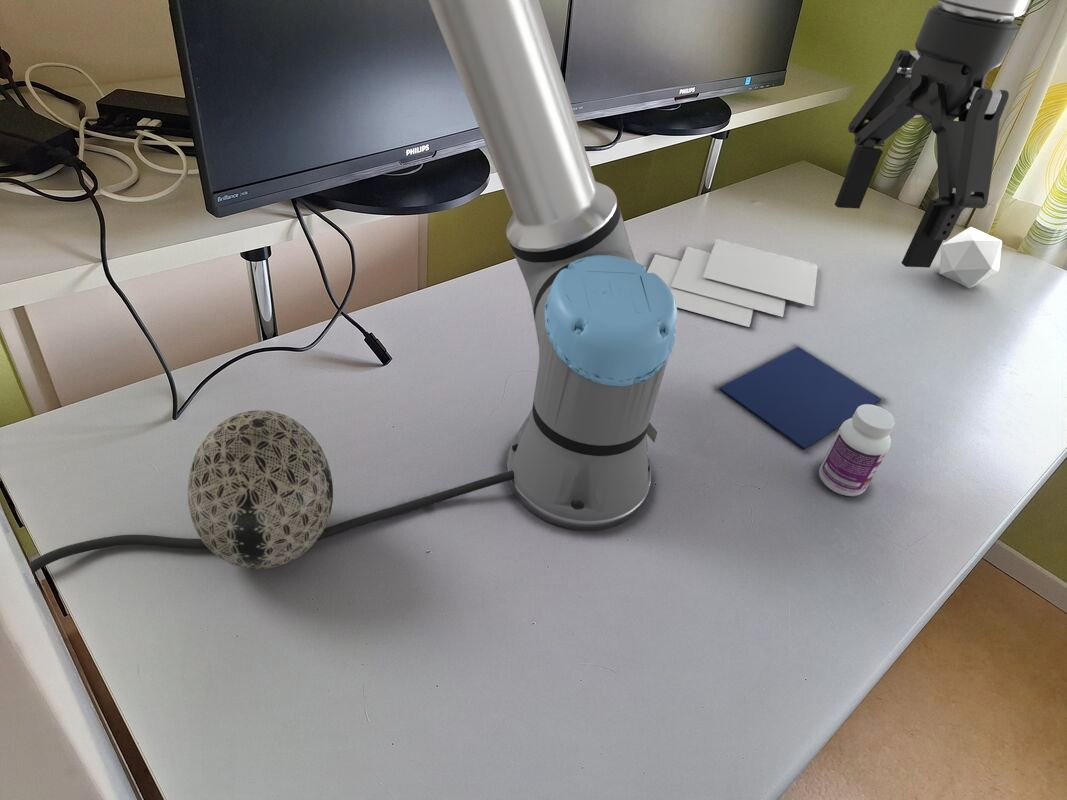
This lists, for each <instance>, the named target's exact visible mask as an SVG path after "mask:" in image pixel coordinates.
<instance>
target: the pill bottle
mask: <svg viewBox="0 0 1067 800" xmlns="http://www.w3.org/2000/svg"><path fill="white" fill-rule="evenodd" d="M895 425H896V420H895V417H894V416H893V415H892V414H891V413H890V412H889V411H888V410H886V409H884V408H883V407H881V406H879V405H875V404H874V405H871V404H864V405H861V406H859V407H858V408H857V409H856V411H855V413H854V415H853V417H852V418H850V419H848V420H846V421H844V422H843V423H842V425H841V426H840V427H838V430H837V432H836V433H835V436H834V438H833V441H831V444H830V446H829V448H828V451H827V452H826V454H825V456H824V457H823V460H822V463H821V465H820V467H819V470H818V475H819V478H820V480H821V482H822V483H823V484H824V485H825V486H826V487H827V488H828V489H829V490H831V491H832V492H834V493H837V494H839V495H841V496H846V497H856V496H860V495H861V494H864V493H865V491H866V490H867V489H868V486H869V485H870V483H871V482H872V480H873V478H874V477H875V475H876V473H877V471H878V469H879V468H880V466H881V464H882V462H883V461H884V459H885V458H886V456H887V454H888V452H889V450H890V449H891V445H892V438H891V436H890V434H891V433H892V431H893V429H894V427H895Z"/></svg>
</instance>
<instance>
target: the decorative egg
mask: <svg viewBox="0 0 1067 800" xmlns="http://www.w3.org/2000/svg"><path fill="white" fill-rule="evenodd" d="M187 484H188V485H187V504H188V511H189V515H190V519H191V521H192V524H193V527H194V529H195V532H196V534H197V535H198V536H199V539H201V540H202V541H203V543H204V544H205V545H206V546H207V547H208V548H209V549H208V550H210V551H211V552H212V553H213V554H214V555H215V556H216V557H217V558H220V559H221V560H223V561H225V562H226V563H228V564H231V565H234V566H236V567H239V568H244V569H249V570H267V569H268V570H269V569H274V568H277V567H278V568H279V567H281V566H284V565H287V564H289V563H291V562H293V561H295V560H297V559H299V558H300V557H301V556H302V555H304V554H306V552H308V551H309V550H310V549H311V548H312V547H313V546H314V545H315V543H316V542H318V541H317V539H318V538H319V537H320V535H321V534H322V532H323V530H324V529H325V528H327V527H326V526H327V525H328V522H329V519H330V517H331V513H332V506H333V501H334V485H333V478H332V471H331V468H330V465H329V462H328V459H327V457H326V455H325V453H324V450H323V448H322V446H321V445H320V443H319V442H318V440H317V439H316V438H315V437H314V435H313V434H312V433H311V432H310V431H309V430H308V429H307V428H306V427H305V426H304V425H302V424H301V423H300V422H298V421H297V420H295V419H293V418H292V417H289V416H288V415H286V414H283V413H280V412H277V411H273V410H268V409H267V410H266V409H265V410H264V409H261V410H260V409H256V410H247V411H243V412H240V413H237V414H235V415H234V414H233V415H232V416H229V417H228V418H226V419H225V420H223V421H222V422H220V423H218V424H217V425H216V426H215V427H214V428H213V429H212V430H211V431H210V432H208V433H207V435H206V437H204V439H203V440H202V442H201V443H200V445H199V447H198V448H197V451H196V452H195V455H194V457H193V459H192V463H191V466H190V469H189V475H188V483H187Z"/></svg>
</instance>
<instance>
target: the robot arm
mask: <svg viewBox="0 0 1067 800" xmlns="http://www.w3.org/2000/svg"><path fill="white" fill-rule="evenodd" d="M427 1H428V5H429V7H430V9H431V11H432V14H433V16H434V18H435V22H436V23H437V26H438V29H439V31H440V34H441V36H442V39H443V42H444V43H445V45H446V49H447V51H448V54H449V56H450V59H451V61H452V64H453V66H454V69H455V71H456V73H457V76H458V78H459V81H460V84H461V86H462V88H463V92H464V93H465V96H466V98H467V101H468V104H469V106H470V109H471V111H472V112H473V116H474V118H475V121H476V123H477V126H478V129H479V130H480V134H481V136H482V137H483V141H484V143H485V146H486V148H487V151H488V154H489V155H490V158H491V161H492V163H493V165H494V168H495V170H496V173H497V176H498V179H499V181H500V183H501V186H502V188H503V191H504V193H505V195H506V198H507V200H508V203H509V205H510V208H511V211H512V215H511V217H510V219H508V220H509V221H508V223H507V225H506V229H505V235H506V238H507V240H508V243H509V246H510V248H511V250H512V253H513V255H514V258H515V260H516V263H517V265H518V267H519V270H520V273H521V275H522V276H523V279H524V282H525V284H526V288H527V291H528V294H529V298H530V302H531V306H532V314H533V321H534V325H535V332H536V337H537V344H538V368H537V373H536V380H535V389H534V394H533V402H532V407H531V410H530V411H529V413H528V414H527V416H526V419H525V420H524V421H523V423H522V424H521V426H520V428H519V430H518V431H517V433H516V435H514V438H513V440H512V442H511V444H510V447H509V450H508V453H507V460H506V466H505V467H506V468H505V470H506V471H505V472H502V473H499V474H494V475H491V476H488V477H485V478H481V479H478V480H475V481H472V482H468V483H465V484H462V485H459V486H456V487H453V488H449V489H446V490H443V491H440V492H437V493H433V494H430V495H427V496H423V497H421V498H417V499H414V500H411V501H407V502H404V503H401V504H397V505H394V506H390V507H387V508H383V509H381V510H378V511H377V510H376V511H373V512H370V513H366V514H363V515H360V516H356V517H353V518H351V519H350V518H349V519H347V520H345V521H342V522H339V523H335V524H334V525H331V526H327V527H325V529H324V530H323V532H322V534H321V535H320V537H319V538H318V539H317V541H316V542H318V541H322V540H324V539H328V538H330V537H333V536H337V535H339V534H342V533H344V532H347V531H350V530H353V529H356V528H359V527H362V526H365V525H370V524H373V523H377V522H378V521H383V520H386V519H389V518H392V517H396V516H398V515H402V514H405V513H408V512H409V513H410V512H412V511H415V510H418V509H422V508H425V507H428V506H431V505H434V504H437V503H440V502H444V501H447V500H450V499H453V498H457V497H459V496H462V495H465V494H469V493H472V492H476V491H479V490H482V489H485V488H488V487H492V486H495V485H498V484H501V483H504V482H507V483H508V485H509V488H510V490H511V492H512V494H513V495H514V497H515V498H516V500H518V501H519V503H520V504H521V505H522V506H523V507H524V508H525V509H527V510H528V511H529V512H530V513H532V514H533V515H535V516H536V517H538V518H540V519H542V520H543V521H546V522H547V523H550V524H553V525H556V526H559V527H562V528H567V529H571V530H579V531H597V530H604V529H609V528H610V529H611V528H613V527H616V526H618V525H622V524H623V523H625V522H627V521H628V520H630V519H631V518H633V517H634V516H635V515H636V514H638V513H639V511H640V510H641V508H642V507H643V506H644V504H645V502H646V500H647V498H648V494H649V490H650V487H651V483H652V482H651V481H652V465H651V460H650V456H649V454H648V446H649V445H648V437H649V439H650V441H652V444H655V442H656V438H657V435H658V431H657V430H656V428H654V426H653V425H652V424H651V418H652V415H653V411H654V408H655V405H656V402H657V398H658V395H659V391H660V388H661V384H662V380H663V377H664V373H665V370H666V367H667V364H668V361H669V358H670V355H671V354H672V352H673V348H674V345H675V340H676V337H675V335H676V332H677V331H676V327H677V321H678V308H677V307H676V302H675V299H674V296H673V294H672V292H671V290H670V289H669V287H668V286H667V285H666V283H665V282H664V281H663V280H662V279H661V278H660V277H659V276H658V275H657V274H655V273H647V267H646V266H645V265H643V264H641V263H639V262H637V261H636V258H635V255H634V254H635V253H634V251H633V249H632V245H631V241H630V238H629V235H628V232H627V229H626V224H625V222H624V218H623V215H622V212H621V208H620V205H619V203H618V199H617V196H616V194H615V192H614V190H613V189H612V188H611V187H609V186H608V185H606V184H603V183H601V182H598V181H596V180H595V176H594V173H593V169H592V166H591V164H590V161H589V157H588V154H587V151H586V150H587V149H586V148H585V143H584V141H583V138H582V135H581V131H580V128H579V125H578V122H577V119H576V116H575V112H574V109H573V106H572V103H571V99H570V96H569V94H568V93H569V92H568V90H567V87H566V83H565V81H564V77H563V74H562V70H561V68H560V65H559V62H558V58H557V55H556V52H555V48H554V45H553V42H552V38H551V35H550V32H549V29H548V26H547V22H546V19H545V16H544V13H543V9H542V7H541V4H540V3H541V2H540V0H427ZM1031 2H1032V0H938V3H937V4H935V5H933V6H932V7H931V8H928V10H927V13H926V15H925V18H924V20H923V23H922V24H921V28H920V30H919V32H918V35H917V38H916V40H915V43H914V46H915V49H916V50H909V49H898V51H897V52H896V54H895V56H894V58H893V61H892V63H891V65H890V67H889V69H888V71H887V72H886V74H885V75H884V76H883V78H881V80H880V81H879V83H878V84H877V86H876V87H875V89H874V90H873V91H872V93H871V94H870V95H869V96H868V98H867V100H865V102H864V104H863V105H862V106H861V107H860V109H859V110H858V112H857V113H856V115H854V117H853V118H852V120H851V121H850V122H849V125H848V127H847V130H848V132H849V133H850V134H853V135H854V139H853V141H854V144H855V147H854V149H853V152H852V154H851V156H850V160H849V162H848V165H847V167H846V174H845V177H844V179H843V181H842V183H841V187H840V189H839V191H838V194H837V197H836V199H835V202H834V206H835V207H837V208H839V209H840V208H841V209H859V210H860V208H861V205H862V203H863V201H864V198H865V197H866V194H867V191H868V188H869V186H870V184H871V181H872V179H873V176H874V174H875V171H876V169H877V166H878V165H879V161H880V159H881V157H882V154H883V152H884V150H882V149H881V148H879V147H883V148H884V147H885V141H886V140H887V139H889V138H890V137H891V136H892V135H894V134H895V133H896V132H898V131H899V129H901V128H902V127H903V126H905V125H906V124H907V123H908V122H909V121H911V120H912V119H913V118H915V116H921V117H922V118H923V120H924V121H925V122H927V123H929V124H931V131H932V133H934V134H935V135H936V153H937V154H936V156H937V157H936V158H937V185H938V187H937V188H938V197H937V198H934V199H930V201H929V203H928V205H927V207H926V209H925V211H924V213H923V215H922V217H921V220H920V222H919V224H918V227H917V228H916V230H915V233H914V235H913V237H912V239H911V241H910V242H909V246H908V248H907V249H906V252H905V254H904V256H903V259H902V261H901V265H903V266H904V267H906V268H928V269H929V268H931V266H932V264H933V262H934V260H935V258H936V256H937V254H938V252H939V249H941V245H942V244H943V243H944V242H943V241H947V240H948V238H949V237H950V235H951V234H952V231H953V230H954V228H955V226H956V224H957V222H958V220H959V217H960V216H961V214H962V212H963V210H964V209H979V210H981V209H984V208H986V207H987V205H988V201H989V195H990V190H991V189H990V187H991V182H992V175H993V168H994V161H995V154H996V147H997V143H998V142H997V141H998V135H999V127H1000V122H1001V121H1000V120H1001V118H1002V115H1003V113H1004V110H1005V108H1006V105H1007V103H1008V100H1009V97H1010V93H1009V91H1008V90H1007V89H997V88H996V89H995V88H986V87H985V84H986V83H985V82H986V78H987V76H988V74H989V73H990V72H991V71H992V70H993V69H996V68H998V67H999V66H1000V65H1002V64H1003V62H1004V60H1005V58H1006V56H1007V53H1008V52H1009V49H1010V47H1011V45H1012V43H1013V41H1014V39H1015V36H1016V34H1017V33H1018V30H1019V26H1018V22H1017V21H1015V18H1016V17H1021V16H1022V15H1024V14H1026V12H1027V10H1028V8H1029V6H1030V4H1031ZM877 147H878V148H877ZM954 189H955V192H954ZM133 545H134V546H152V547H161V548H172V549H185V550H210V549H209V548H208V547H207V546H206V545H205V544H204V543H203V541H202V540H201V538H185V537H183V538H182V537H171V536H162V535H151V534H120V535H112V536H106V537H101V538H100V537H99V538H95V539H90V540H85V541H81V542H76V543H73V544H69V545H65V546H62V547H59V548H57V549H53V550H51V551H48V552H46V553H44V554H42V555H40V556H38V557H36V558H35V559H33V560H31V561H30V562H28V563H27V564H28V565H29V566H30V568H31V570H32V573H33V574H35V573H36V572H37V571H39V570H41V569H42V568H44V567H46V566H48V565H50V564H51V563H54V562H56V561H59V560H61V559H64V558H68V557H71V556H74V555H78V554H82V553H86V552H91V551H96V550H100V549H101V550H102V549H105V548H112V547H118V546H133Z"/></svg>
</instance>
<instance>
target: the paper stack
mask: <svg viewBox="0 0 1067 800" xmlns="http://www.w3.org/2000/svg"><path fill="white" fill-rule="evenodd" d="M818 268H819V264H816V263H813V262H809V261H806V260H802V259H797V258H794V257H790V256H786V255H781V254H779V253H774V252H770V251H767V250H763V249H759V248H755V247H751V246H747V245H743V244H739V243H737V242H736V243H735V242H731V241H727V240H724V239H720V238H715V242H714V244H713V246H712V250H711V252H710V251H706V250H702V249H698V248H695V247H690V246H687V247H686V249H685V251H684V253H683V256H682V259H681V260H679V259H676V258H671V257H668V256H664V255H660V254H657V253H655V254H654V256H653V258H652V260H651V263H650V264H649V267H648V269H647V270H646V272H647V273H655V274H657V275H658V276H659V277H660V278H661V279H662V280H663V281H664V282H665V283H666V285H667V286H668V287H669V289H670V290H671V292H672V294H673V296H674V299H675V302H676V307H677V309H682V310H685V311H689V312H692V313H695V314H700V315H703V316H706V317H710V318H714V319H717V320H721V321H724V322H728V323H731V324H736V325H738V326H741V327H742V326H743V327H747V328H750V326H751V322H752V318H753V313H754V311H755V310H756V311H758V312H763V313H766V314H769V315H774V316H778V317H780V318H783V317H784V313H785V307H786V300H787V301H791V302H795V303H798V304H802V305H806V306H811V307H814V306H815V296H816V285H817V276H818Z"/></svg>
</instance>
